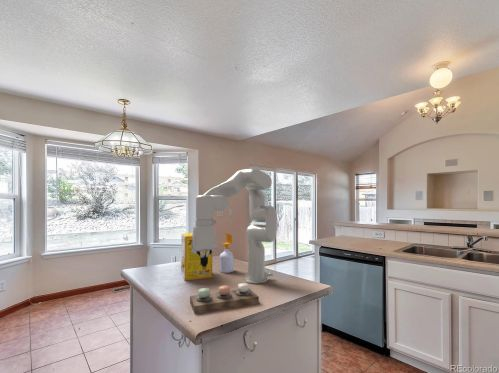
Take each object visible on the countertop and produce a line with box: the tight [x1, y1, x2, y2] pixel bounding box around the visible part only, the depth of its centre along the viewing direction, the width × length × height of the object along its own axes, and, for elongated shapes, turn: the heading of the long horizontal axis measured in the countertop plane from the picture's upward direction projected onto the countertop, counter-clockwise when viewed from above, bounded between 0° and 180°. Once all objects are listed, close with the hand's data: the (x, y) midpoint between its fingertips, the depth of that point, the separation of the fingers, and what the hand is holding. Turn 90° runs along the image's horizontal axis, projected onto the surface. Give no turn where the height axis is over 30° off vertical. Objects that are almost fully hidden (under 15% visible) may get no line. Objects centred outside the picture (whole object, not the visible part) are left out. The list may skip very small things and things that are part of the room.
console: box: [189, 288, 260, 315], centre depth 114 cm, size 28×12×4 cm, turn 111°
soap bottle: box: [219, 232, 235, 274], centre depth 168 cm, size 9×9×25 cm
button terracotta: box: [218, 285, 231, 295], centre depth 114 cm, size 5×5×2 cm
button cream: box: [237, 282, 250, 292], centre depth 118 cm, size 5×5×2 cm
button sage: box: [197, 287, 210, 298], centre depth 111 cm, size 5×5×2 cm
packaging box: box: [180, 232, 213, 281], centre depth 159 cm, size 16×16×25 cm
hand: (204, 266), depth 112 cm, fingers closed
